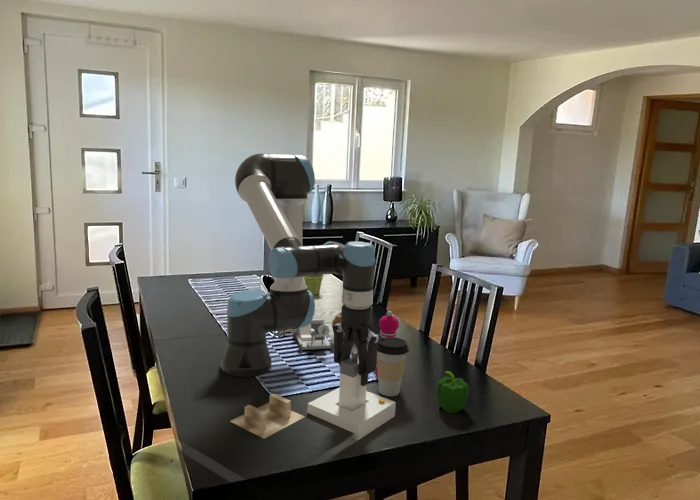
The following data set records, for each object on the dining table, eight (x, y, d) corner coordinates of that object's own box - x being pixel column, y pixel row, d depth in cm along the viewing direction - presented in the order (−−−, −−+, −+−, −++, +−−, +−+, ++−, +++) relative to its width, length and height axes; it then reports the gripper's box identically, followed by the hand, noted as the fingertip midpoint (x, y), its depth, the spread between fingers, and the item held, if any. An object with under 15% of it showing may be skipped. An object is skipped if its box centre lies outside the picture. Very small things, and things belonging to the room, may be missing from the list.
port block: (307, 418, 141) (307, 401, 140) (346, 397, 154) (346, 381, 153) (357, 440, 132) (358, 422, 131) (394, 416, 144) (395, 399, 143)
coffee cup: (370, 384, 162) (373, 335, 159) (402, 384, 163) (406, 336, 160) (375, 399, 153) (378, 347, 150) (408, 399, 154) (412, 348, 151)
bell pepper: (472, 414, 147) (475, 379, 145) (444, 417, 145) (447, 381, 143) (457, 400, 155) (460, 366, 153) (430, 403, 152) (433, 368, 151)
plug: (338, 406, 141) (341, 354, 138) (353, 398, 145) (355, 347, 143) (351, 411, 138) (353, 358, 136) (365, 403, 143) (368, 351, 140)
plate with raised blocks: (229, 426, 135) (229, 405, 134) (271, 406, 146) (271, 387, 145) (264, 444, 128) (264, 422, 127) (305, 422, 139) (305, 401, 138)
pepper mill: (400, 371, 173) (404, 309, 169) (394, 380, 166) (398, 316, 162) (377, 367, 175) (381, 306, 171) (371, 375, 168) (374, 312, 164)
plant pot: (322, 296, 250) (323, 278, 249) (301, 295, 250) (302, 277, 249) (323, 291, 260) (324, 273, 258) (303, 290, 260) (304, 272, 258)
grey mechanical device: (336, 327, 182) (302, 328, 179) (335, 355, 184) (301, 357, 181) (325, 310, 199) (293, 311, 196) (324, 336, 201) (292, 338, 198)
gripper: (320, 300, 139) (317, 388, 143) (376, 315, 129) (371, 409, 133) (339, 295, 145) (336, 379, 149) (394, 309, 135) (389, 399, 139)
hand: (353, 393), depth 141 cm, fingers closed on plug, 4 cm apart
